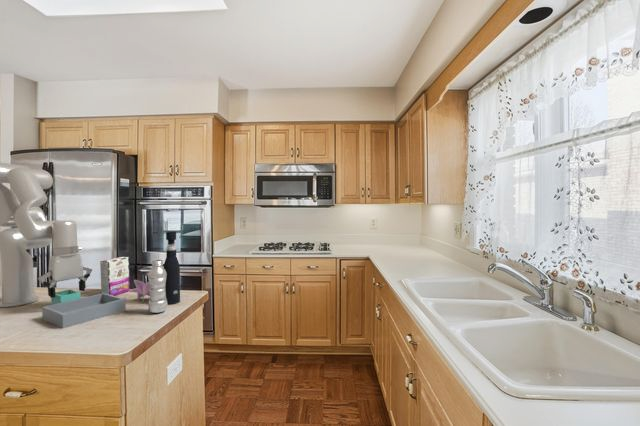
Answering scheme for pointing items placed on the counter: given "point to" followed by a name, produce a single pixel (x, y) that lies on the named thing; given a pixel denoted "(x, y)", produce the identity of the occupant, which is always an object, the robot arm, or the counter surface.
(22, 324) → the counter surface
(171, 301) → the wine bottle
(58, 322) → the gray crate
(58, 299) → the teal crate
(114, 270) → the candy bar box
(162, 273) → the silver ribbed bottle
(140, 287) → the lily
